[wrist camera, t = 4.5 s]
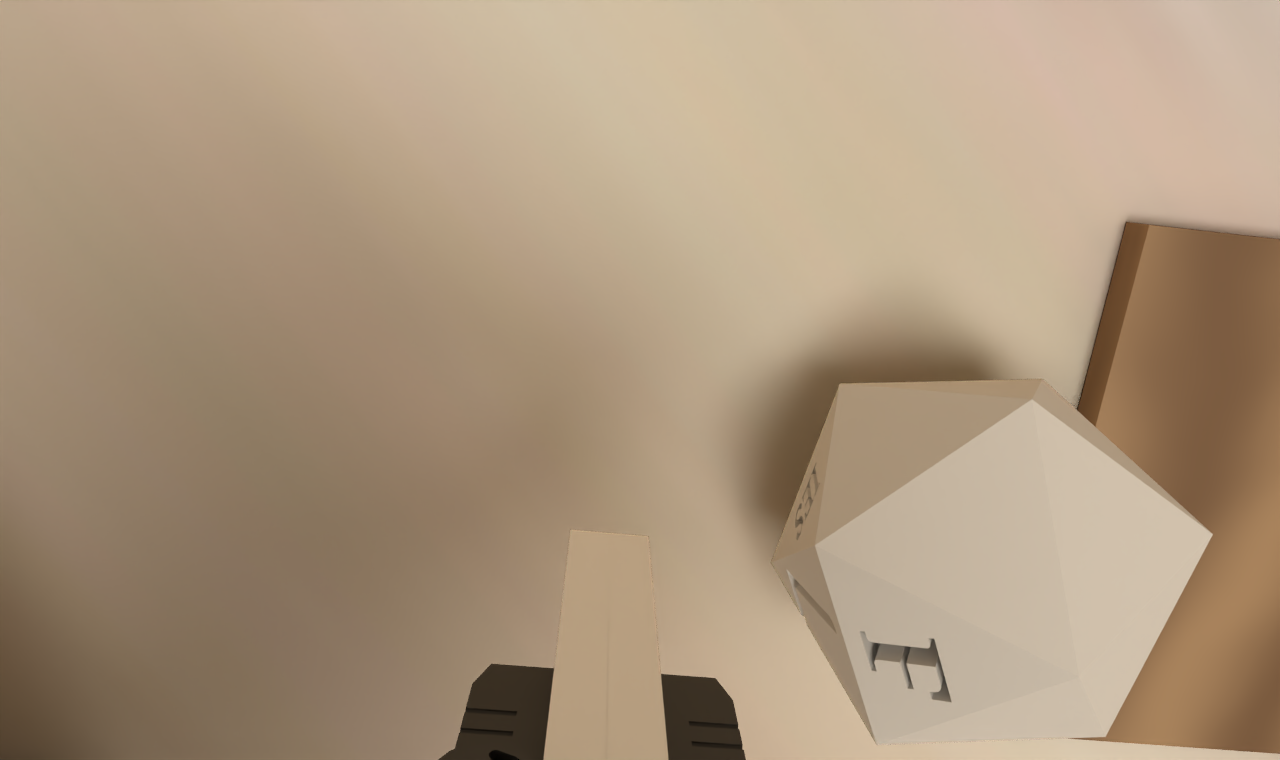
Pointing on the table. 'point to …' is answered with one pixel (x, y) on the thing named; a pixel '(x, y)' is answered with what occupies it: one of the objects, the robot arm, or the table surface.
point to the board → (1201, 471)
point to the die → (981, 561)
